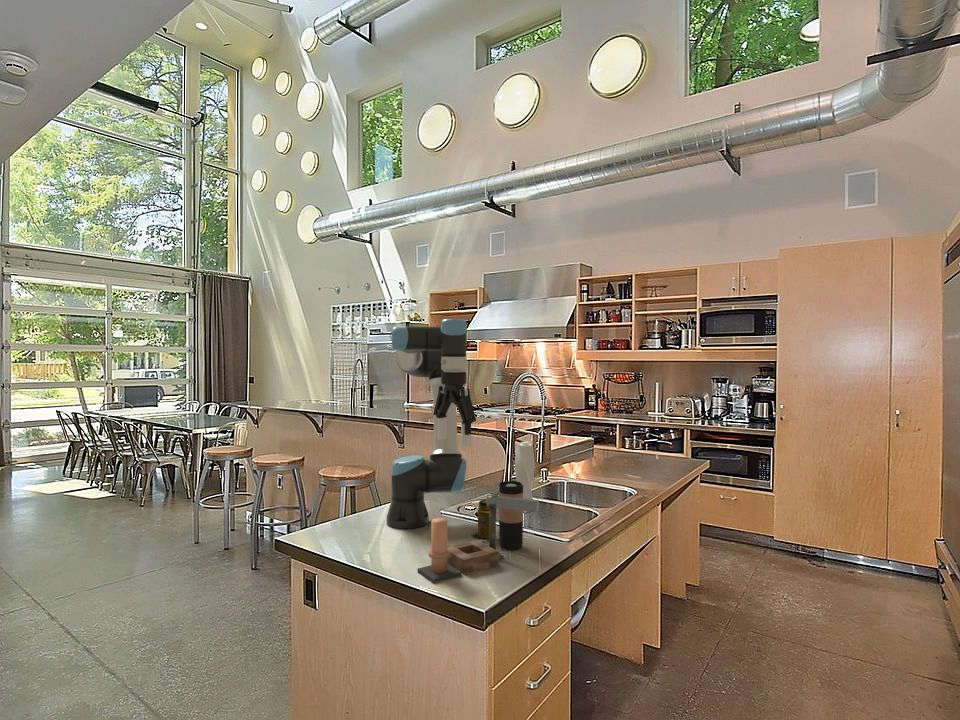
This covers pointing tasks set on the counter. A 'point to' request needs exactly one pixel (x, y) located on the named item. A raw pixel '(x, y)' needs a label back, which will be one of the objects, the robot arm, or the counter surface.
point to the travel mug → (510, 518)
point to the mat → (439, 577)
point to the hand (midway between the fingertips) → (453, 442)
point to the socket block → (476, 551)
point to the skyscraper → (525, 468)
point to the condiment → (482, 523)
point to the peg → (439, 545)
